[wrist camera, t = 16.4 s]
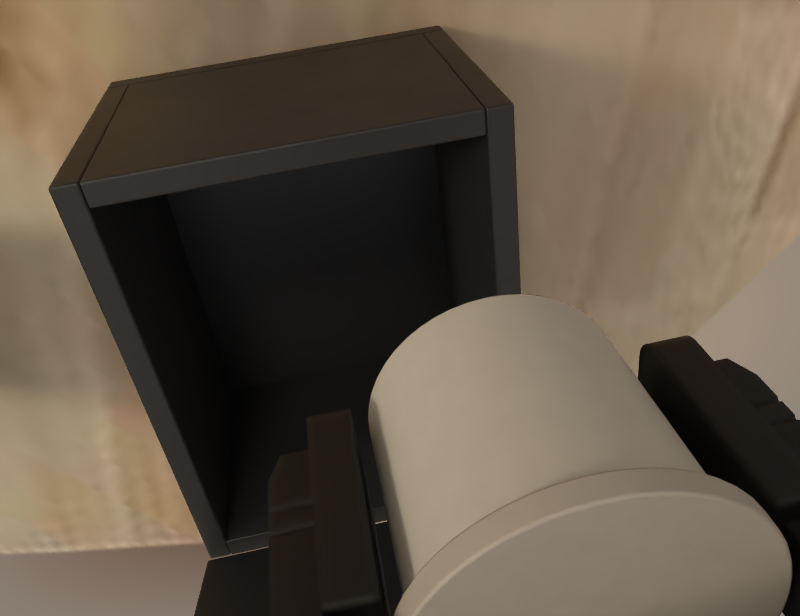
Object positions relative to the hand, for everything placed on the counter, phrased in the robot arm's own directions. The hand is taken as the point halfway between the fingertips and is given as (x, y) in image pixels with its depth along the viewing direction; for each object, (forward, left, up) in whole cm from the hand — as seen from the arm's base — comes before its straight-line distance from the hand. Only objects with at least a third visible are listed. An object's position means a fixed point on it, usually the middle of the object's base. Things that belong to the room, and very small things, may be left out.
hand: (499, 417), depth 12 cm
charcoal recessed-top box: (+4, -6, -20) cm, 21 cm away
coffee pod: (0, 0, 0) cm, 0 cm away
